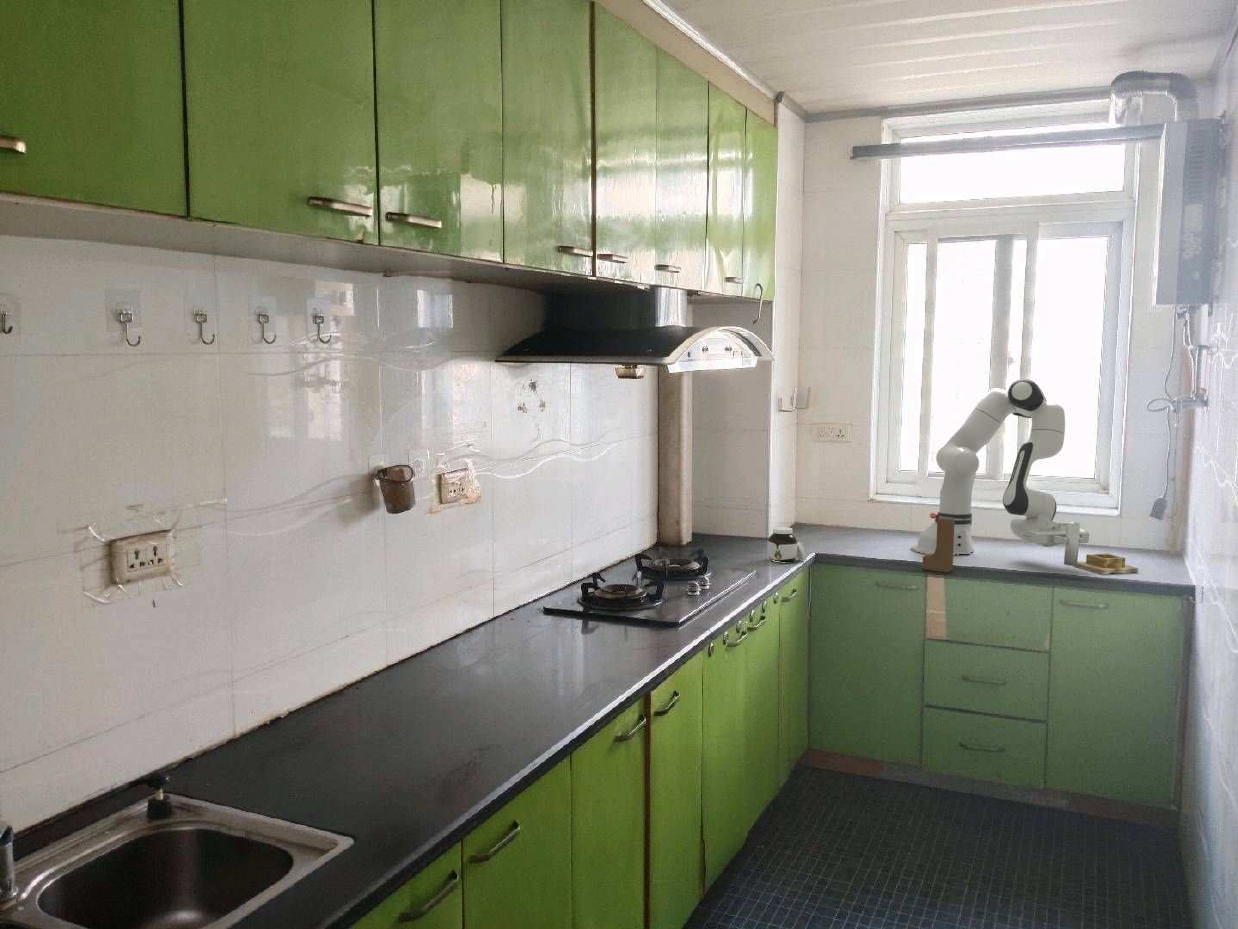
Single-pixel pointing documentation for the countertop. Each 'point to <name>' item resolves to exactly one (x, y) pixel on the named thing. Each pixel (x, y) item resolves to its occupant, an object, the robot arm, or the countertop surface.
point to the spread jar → (784, 546)
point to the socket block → (1105, 564)
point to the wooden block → (942, 547)
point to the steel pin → (1072, 543)
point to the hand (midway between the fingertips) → (1074, 541)
